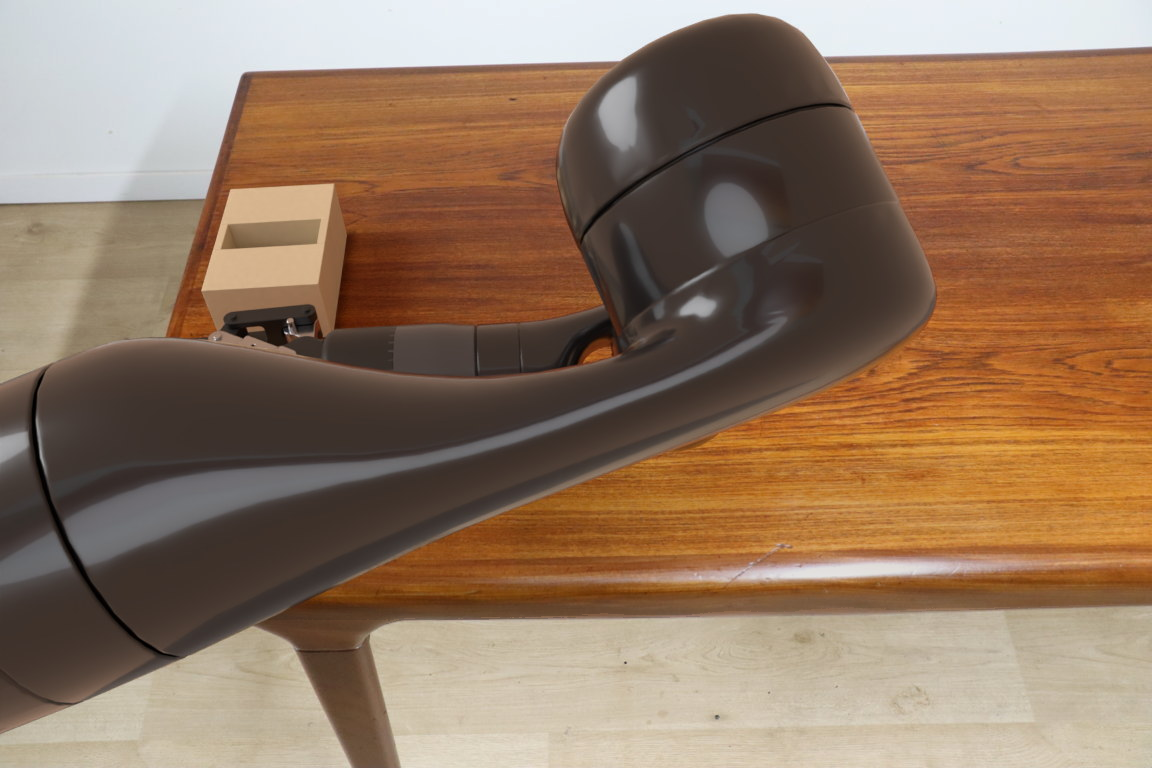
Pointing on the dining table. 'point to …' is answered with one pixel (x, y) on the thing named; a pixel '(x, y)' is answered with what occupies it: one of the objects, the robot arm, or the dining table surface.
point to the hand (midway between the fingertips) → (139, 402)
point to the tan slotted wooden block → (278, 252)
